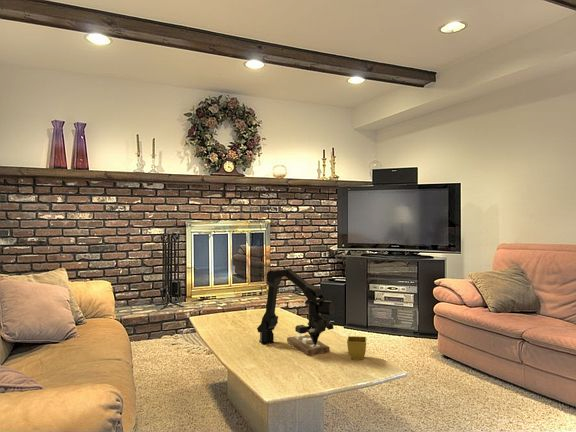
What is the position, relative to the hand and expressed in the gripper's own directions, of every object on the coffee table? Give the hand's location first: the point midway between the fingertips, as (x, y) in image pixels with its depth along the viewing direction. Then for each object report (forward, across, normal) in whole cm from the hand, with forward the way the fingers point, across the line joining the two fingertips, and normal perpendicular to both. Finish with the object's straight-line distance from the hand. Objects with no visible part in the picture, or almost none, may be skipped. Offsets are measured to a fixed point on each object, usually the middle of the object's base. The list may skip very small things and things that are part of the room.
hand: (314, 344), depth 207 cm
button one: (+2, 0, +17) cm, 17 cm away
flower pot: (+4, +13, -18) cm, 22 cm away
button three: (+3, 0, 0) cm, 3 cm away
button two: (+2, 0, +8) cm, 9 cm away
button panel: (+3, 0, +8) cm, 9 cm away
